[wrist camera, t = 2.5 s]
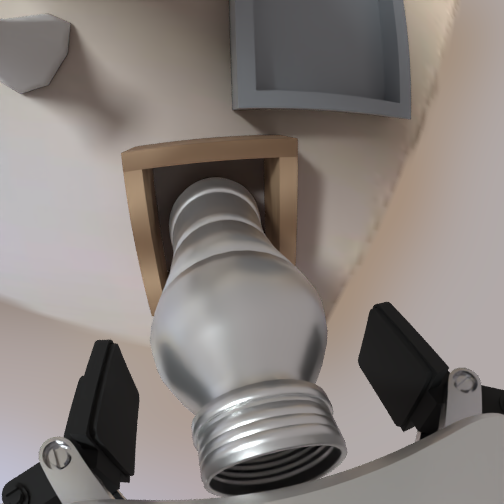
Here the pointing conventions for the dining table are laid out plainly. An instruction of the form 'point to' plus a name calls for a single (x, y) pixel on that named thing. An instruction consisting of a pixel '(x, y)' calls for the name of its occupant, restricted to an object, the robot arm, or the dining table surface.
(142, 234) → the holder
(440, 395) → the robot arm
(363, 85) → the parts tray
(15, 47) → the flask
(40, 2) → the dining table surface
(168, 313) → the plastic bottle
